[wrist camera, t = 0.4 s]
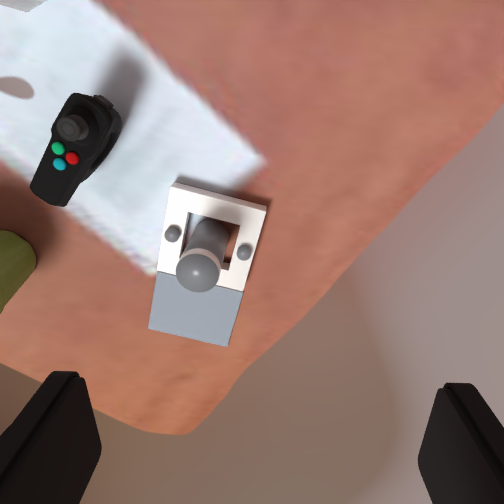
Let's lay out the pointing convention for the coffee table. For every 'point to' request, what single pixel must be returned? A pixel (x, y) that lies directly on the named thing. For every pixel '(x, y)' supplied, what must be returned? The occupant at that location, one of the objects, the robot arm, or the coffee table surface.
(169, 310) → the mat
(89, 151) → the controller
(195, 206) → the frame
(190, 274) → the cartridge
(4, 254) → the plant pot
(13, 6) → the small box
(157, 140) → the coffee table surface
